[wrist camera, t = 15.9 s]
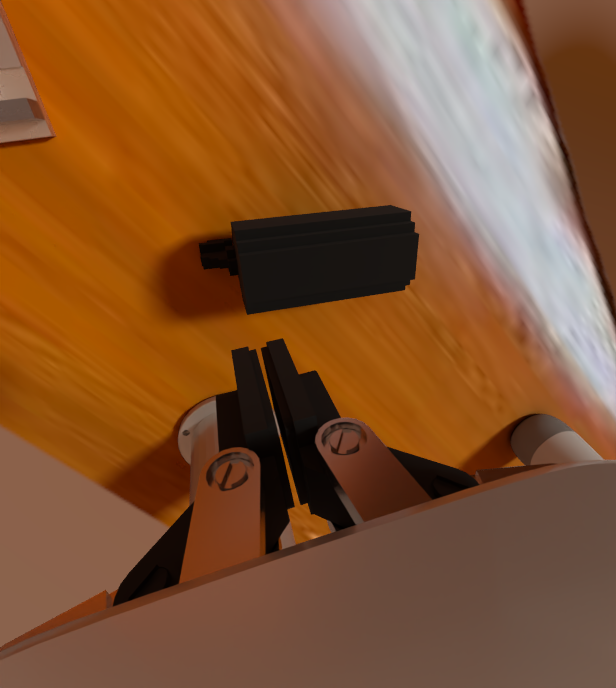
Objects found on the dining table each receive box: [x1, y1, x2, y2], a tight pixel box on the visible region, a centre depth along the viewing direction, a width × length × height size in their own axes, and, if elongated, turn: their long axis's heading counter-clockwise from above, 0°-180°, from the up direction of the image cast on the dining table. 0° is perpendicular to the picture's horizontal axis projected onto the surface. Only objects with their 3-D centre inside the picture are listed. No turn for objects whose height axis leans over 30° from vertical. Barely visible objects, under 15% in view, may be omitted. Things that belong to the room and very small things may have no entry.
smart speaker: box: [511, 414, 604, 466], centre depth 57 cm, size 10×9×14 cm
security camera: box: [199, 205, 419, 315], centre depth 33 cm, size 7×18×10 cm, turn 93°
